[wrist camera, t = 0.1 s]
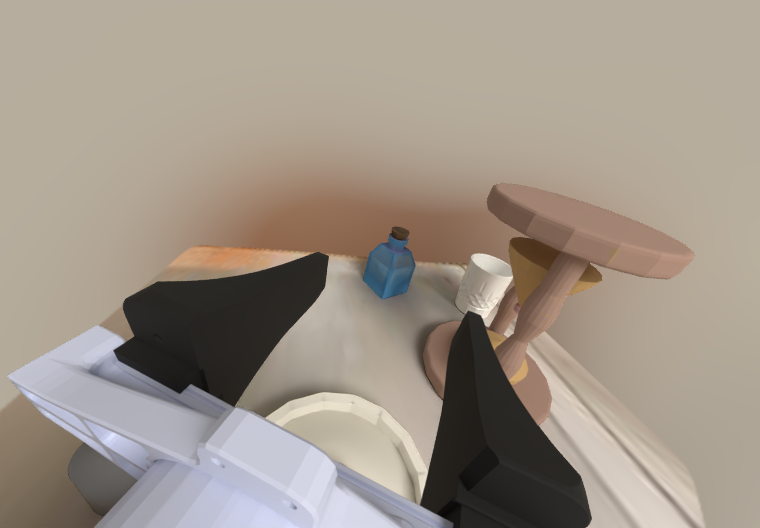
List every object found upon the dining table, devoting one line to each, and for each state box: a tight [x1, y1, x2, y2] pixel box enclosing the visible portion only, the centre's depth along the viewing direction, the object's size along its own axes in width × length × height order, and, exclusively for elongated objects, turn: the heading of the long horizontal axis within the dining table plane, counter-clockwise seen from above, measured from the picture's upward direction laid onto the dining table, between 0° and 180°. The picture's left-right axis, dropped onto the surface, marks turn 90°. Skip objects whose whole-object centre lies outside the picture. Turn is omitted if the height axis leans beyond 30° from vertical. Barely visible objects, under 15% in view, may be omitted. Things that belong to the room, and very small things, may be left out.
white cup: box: [455, 254, 513, 319], centre depth 51 cm, size 8×8×10 cm
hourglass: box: [423, 183, 695, 426], centre depth 33 cm, size 18×18×25 cm
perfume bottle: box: [363, 227, 416, 299], centre depth 50 cm, size 6×6×12 cm
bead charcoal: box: [68, 443, 138, 516], centre depth 20 cm, size 4×4×5 cm
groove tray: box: [266, 392, 428, 505], centre depth 22 cm, size 17×17×2 cm
